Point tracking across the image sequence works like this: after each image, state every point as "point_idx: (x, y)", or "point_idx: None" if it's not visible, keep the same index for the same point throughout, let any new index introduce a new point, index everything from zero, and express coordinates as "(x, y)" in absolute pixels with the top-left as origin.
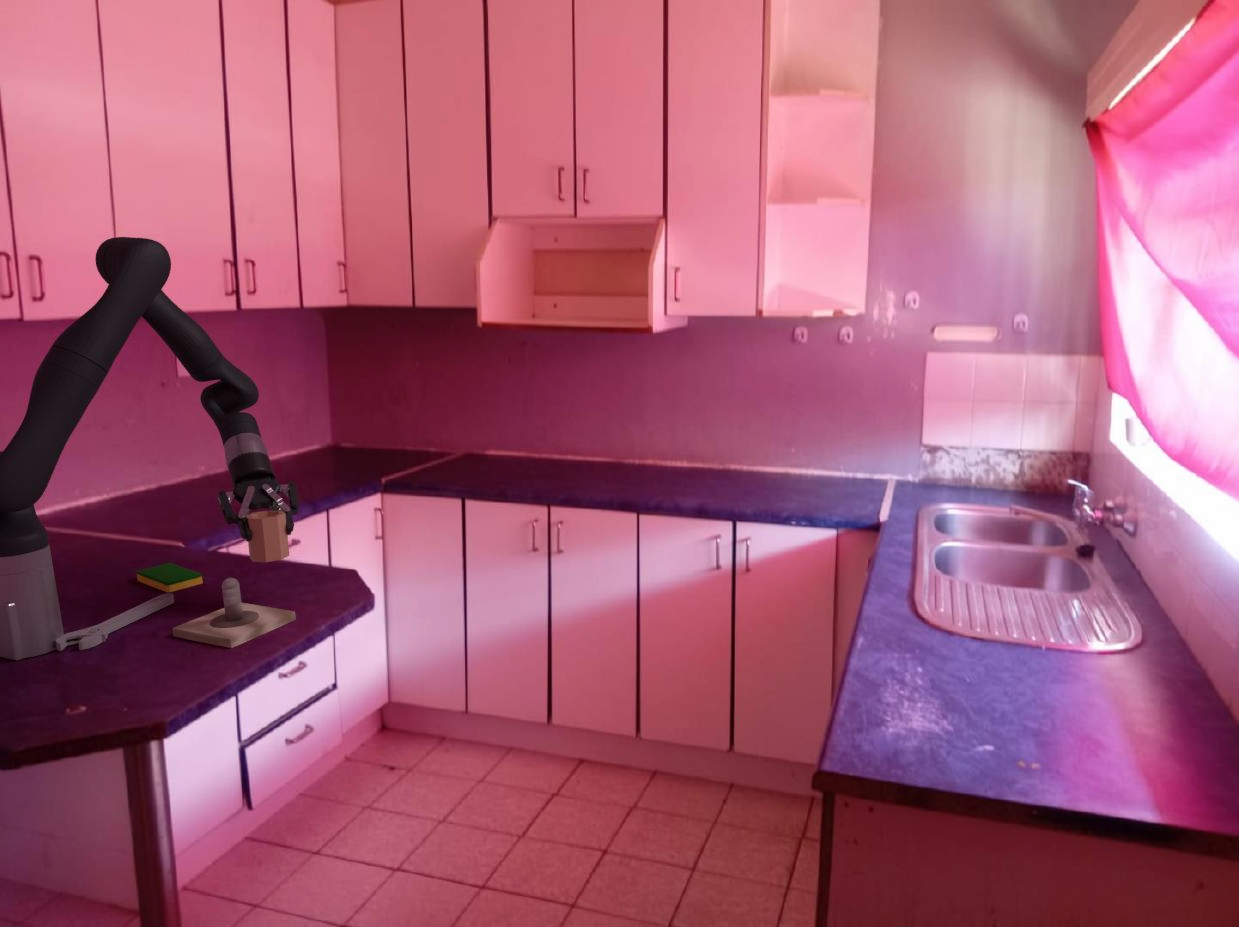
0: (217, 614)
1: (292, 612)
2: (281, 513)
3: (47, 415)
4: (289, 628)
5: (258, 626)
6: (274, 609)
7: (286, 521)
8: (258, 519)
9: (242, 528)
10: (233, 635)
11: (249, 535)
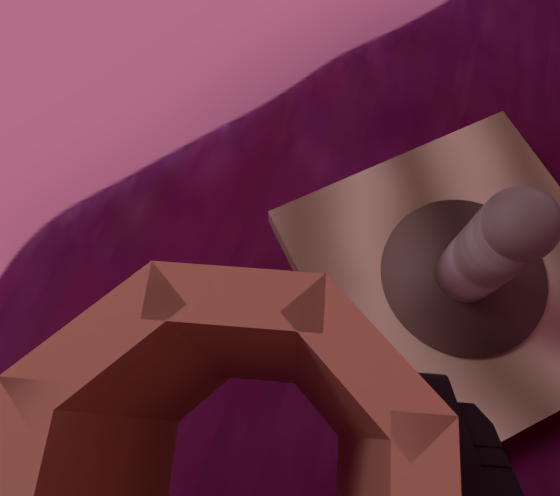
0: (511, 382)
1: (278, 207)
2: (36, 397)
3: None
4: (311, 165)
5: (407, 158)
6: None
7: None
8: (356, 312)
9: (494, 463)
10: (489, 135)
11: (426, 374)
